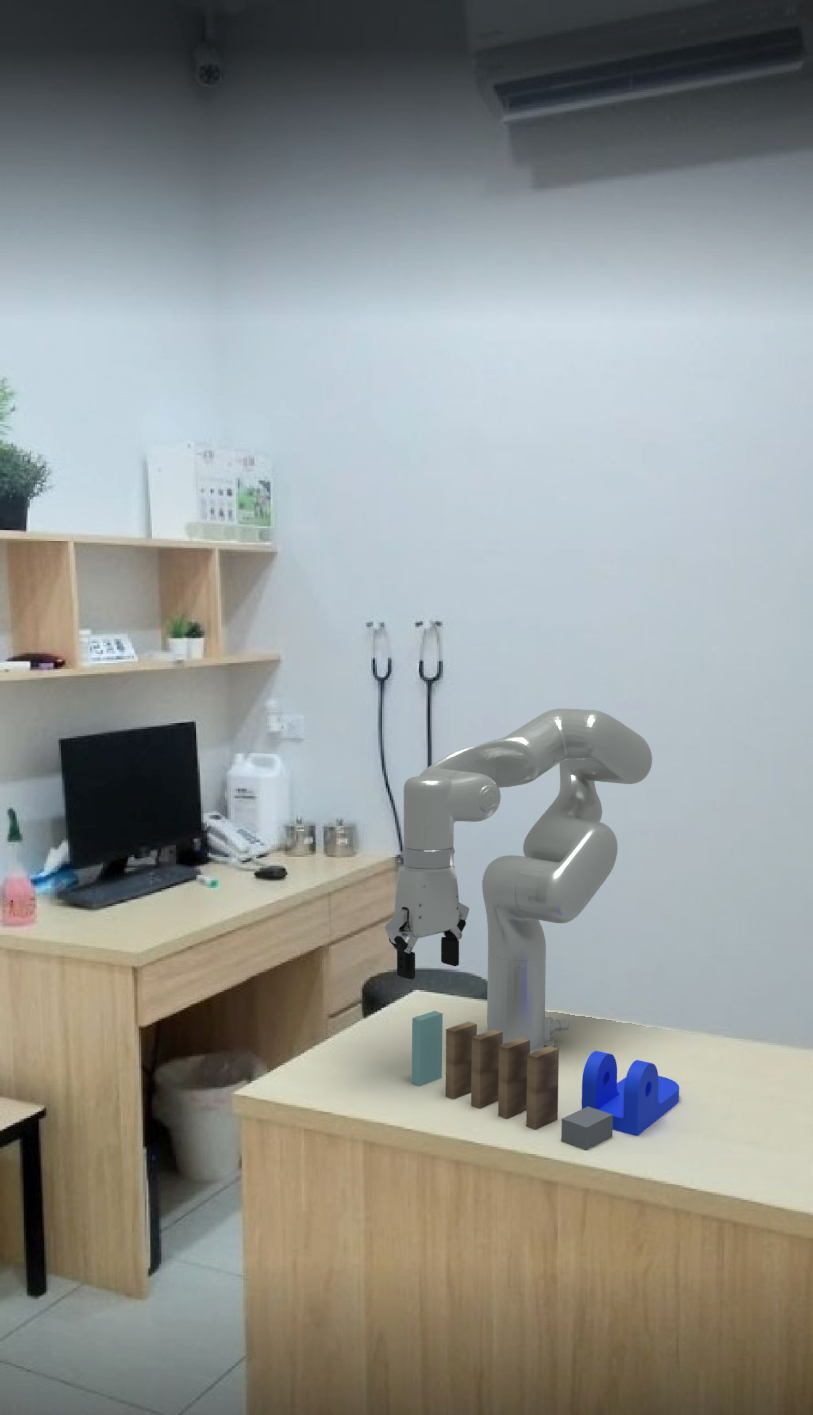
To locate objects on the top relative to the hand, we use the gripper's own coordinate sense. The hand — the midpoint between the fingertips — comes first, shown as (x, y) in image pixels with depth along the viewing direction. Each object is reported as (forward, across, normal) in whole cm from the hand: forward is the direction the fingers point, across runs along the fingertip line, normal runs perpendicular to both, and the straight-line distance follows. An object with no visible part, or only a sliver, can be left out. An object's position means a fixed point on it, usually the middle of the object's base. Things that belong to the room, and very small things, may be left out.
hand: (428, 970), depth 172 cm
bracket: (+17, -13, +28) cm, 36 cm away
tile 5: (+17, 0, +22) cm, 28 cm away
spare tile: (+17, 0, 0) cm, 17 cm away
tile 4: (+17, 0, +17) cm, 24 cm away
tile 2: (+17, 0, +7) cm, 18 cm away
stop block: (+17, 0, +30) cm, 34 cm away
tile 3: (+17, 0, +12) cm, 21 cm away
